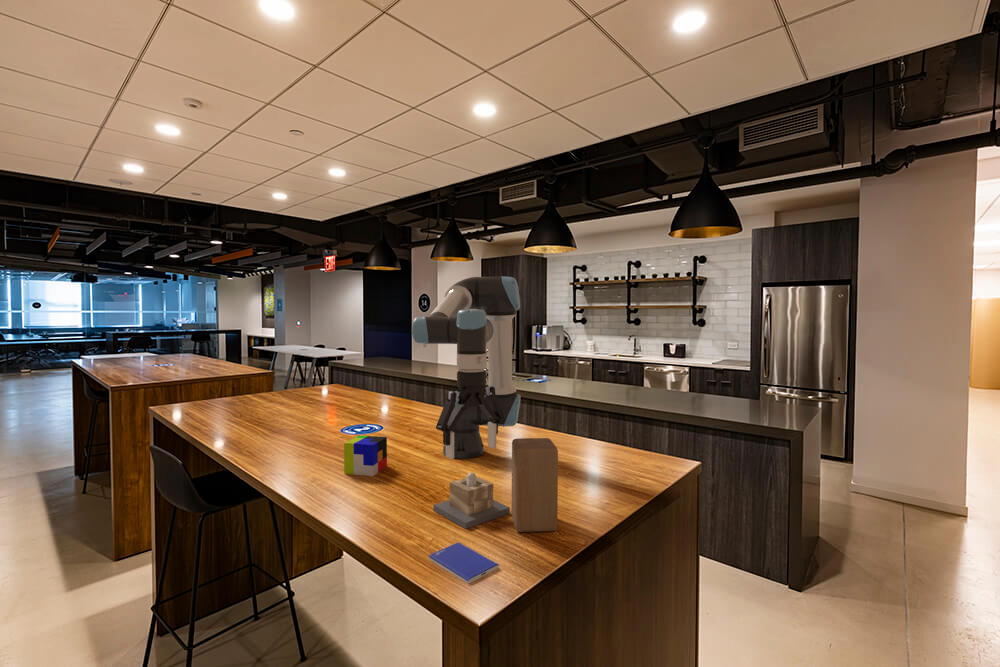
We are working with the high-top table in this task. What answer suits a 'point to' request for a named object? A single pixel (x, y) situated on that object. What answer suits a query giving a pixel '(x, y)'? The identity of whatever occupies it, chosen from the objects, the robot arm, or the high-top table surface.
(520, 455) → the wooden block
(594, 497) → the high-top table surface
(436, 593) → the high-top table surface
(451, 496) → the maple bead
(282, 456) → the high-top table surface
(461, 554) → the hard drive
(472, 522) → the post board
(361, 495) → the high-top table surface
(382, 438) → the puzzle toy
